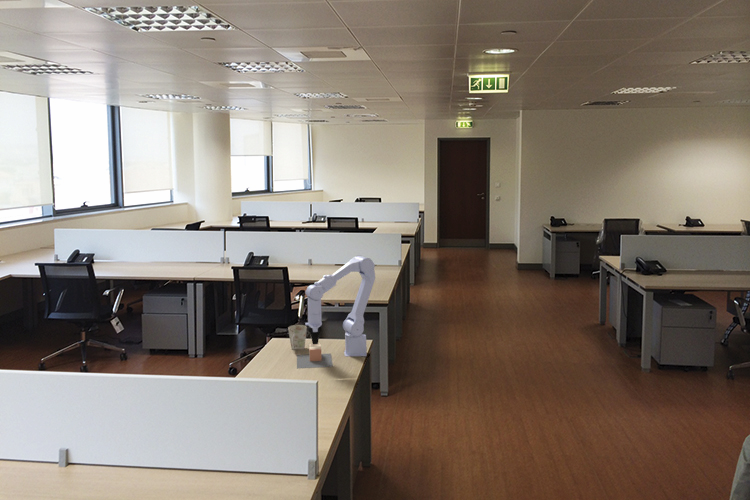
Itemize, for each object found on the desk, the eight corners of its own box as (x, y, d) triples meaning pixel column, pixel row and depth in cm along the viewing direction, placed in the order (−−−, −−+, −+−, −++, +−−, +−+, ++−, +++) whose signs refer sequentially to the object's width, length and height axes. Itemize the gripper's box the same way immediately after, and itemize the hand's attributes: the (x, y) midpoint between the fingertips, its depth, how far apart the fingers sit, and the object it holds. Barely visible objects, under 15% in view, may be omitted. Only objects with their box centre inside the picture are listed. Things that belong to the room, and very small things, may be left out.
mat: (330, 354, 285) (330, 353, 285) (333, 367, 268) (333, 366, 268) (296, 355, 284) (296, 354, 284) (296, 369, 266) (296, 368, 266)
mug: (308, 345, 298) (308, 325, 297) (303, 354, 286) (302, 332, 284) (291, 345, 299) (290, 324, 298) (284, 353, 287) (284, 332, 285)
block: (321, 360, 275) (320, 354, 284) (321, 349, 275) (320, 343, 284) (309, 361, 275) (309, 354, 284) (309, 349, 274) (309, 343, 283)
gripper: (305, 309, 281) (305, 339, 283) (305, 317, 267) (306, 349, 269) (321, 308, 282) (321, 338, 284) (322, 317, 268) (322, 348, 270)
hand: (315, 343), depth 277 cm, fingers closed
